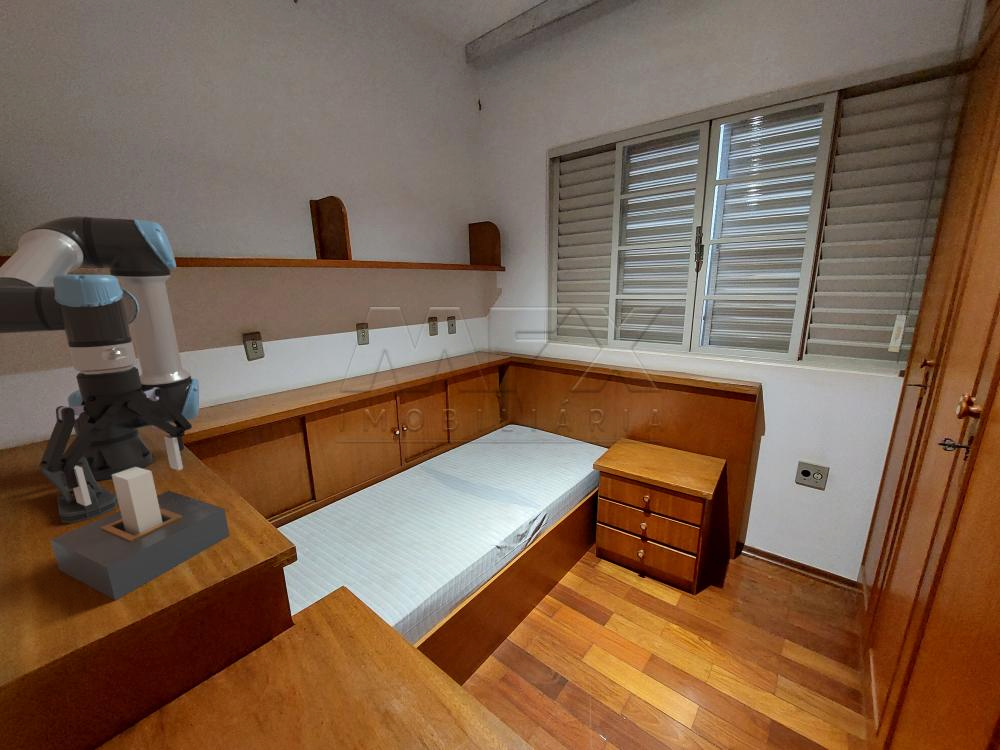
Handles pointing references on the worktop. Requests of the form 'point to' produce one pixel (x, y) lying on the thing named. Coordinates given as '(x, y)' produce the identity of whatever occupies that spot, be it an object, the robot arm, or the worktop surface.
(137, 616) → the worktop surface
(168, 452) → the robot arm
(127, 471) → the white rectangular bar
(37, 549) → the worktop surface
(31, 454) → the worktop surface
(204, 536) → the block
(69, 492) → the zipper slider
